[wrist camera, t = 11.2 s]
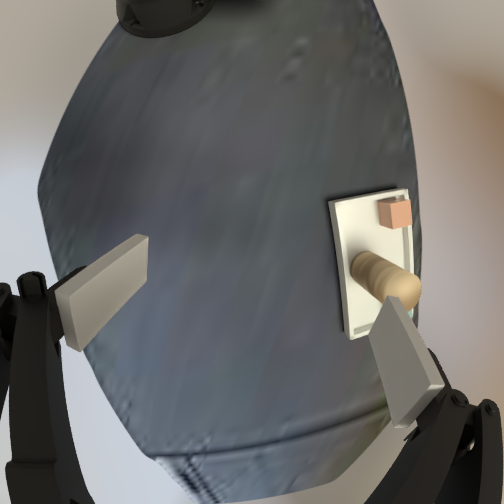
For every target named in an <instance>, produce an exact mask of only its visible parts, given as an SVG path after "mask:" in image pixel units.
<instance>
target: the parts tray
mask: <svg viewBox="0 0 504 504" xmlns="http://www.w3.org/2000/svg"><path fill="white" fill-rule="evenodd" d="M394 198H401V199H408V200H409V197H408V190H407V189H403V188H396V189H391V190H385V191H380V192H374V193H369V194H364V195H358V196H353V197H348V198H343V199H338V200H333V201H328V204H329V210H330V216H331V222H332V228H333V235H334V241H335V248H336V256H337V263H338V271H339V279H340V288H341V298H342V308H343V320H344V333H345V334H346V335H347V337H348V338H349V339H350V340H352V339H355V338H358V337H361V336H364V335H367V334H368V333H369V332H370V330H371V328H372V326H373V324H374V322H375V320H376V318H377V316H378V314H379V311H380V309H381V307H382V305H383V304H382V303H380V302H379V301H378V300H377V299H376V298H374V297H373V296H372V295H371V294H370V293H368V292H367V291H366V290H365V289H364V288H362V287H361V286H360V285H359V284H358V283H356V282H355V281H354V280H353V279H352V277H351V274H350V265H351V262H352V260H353V259H354V257H355V256H356V255H357V254H359V253H361V252H363V251H370V252H373V253H375V254H377V255H379V256H380V257H382V258H384V259H386V260H388V261H390V262H392V263H394V264H396V265H397V266H399V267H401V268H403V269H405V270H407V271H409V272H410V273H412V274H414V264H413V241H412V227H411V225H409V226H405V227H401V228H397V229H390V228H387V227H384V226H380V218H379V210H378V201H384V200H389V199H394ZM412 317H413V309H412Z"/></svg>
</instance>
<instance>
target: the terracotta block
mask: <svg viewBox="0 0 504 504" xmlns="http://www.w3.org/2000/svg"><path fill="white" fill-rule="evenodd" d="M378 210H379V218H380V226H384V227H387V228H390V229H397V228H401V227H405V226H409V225H412V215H411V205H410V200H408V199H401V198H394V199H389V200H384V201H378Z"/></svg>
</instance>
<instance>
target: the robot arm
mask: <svg viewBox="0 0 504 504" xmlns="http://www.w3.org/2000/svg"><path fill="white" fill-rule="evenodd" d="M116 4H117V5H116V7H117V16H118V19H119V21H120V23H121V24H122V25H123V27H124V28H125V29H126V30H127V31H128V32H129V33H131V34H133V35H136V36H139V37H145V38H157V37H164V36H169V35H172V34H176V33H179V32H181V31H184V30H186V29H188V28H190V27H191V26H193V25H195V24H196V23H198V22H199V21H200V20H202V19H203V18H204V17H205V16H206V15H207V14H208V12H209V11H210V10H211V8H212V6H213V4H214V0H116ZM148 238H149V237H148V236H144V235H140V234H135V235H134V236H132V237H131V238H129V239H127V240H126V241H124V242H123V243H121V244H120V245H118V246H117V247H115V248H114V249H112V250H111V251H109V252H108V253H106V254H105V255H103V256H102V257H101V258H99V259H98V260H96V261H95V262H93V263H92V264H90V265H89V266H83V267H80V268H77V269H75V270H74V271H72V272H71V273H69V275H67V276H65V277H64V278H63V279H61V280H60V281H58V282H57V283H55V284H54V285H53V286H51V287H50V288H49V289H47V286H46V280H45V276H44V274H43V273H40V272H35V271H32V272H27V273H25V274H22V275H21V276H20V277H18V279H17V286H18V290H19V294H20V296H17V295H12V292H11V288H10V285H9V284H7V283H0V419H1V414H2V410H3V406H4V402H5V398H6V394H7V390H8V387H9V425H10V439H11V450H12V460H11V461H10V462H7V464H6V467H5V472H6V480H7V486H8V491H9V496H10V500H11V504H95V503H94V501H93V499H92V497H91V496H90V494H89V492H88V490H87V487H86V485H85V482H84V478H83V475H82V472H81V469H80V465H79V461H78V458H77V454H76V450H75V446H74V442H73V438H72V432H71V427H70V422H69V417H68V411H67V405H66V398H65V390H64V382H63V372H62V360H61V345H60V342H59V340H60V339H61V338H62V337H63V336H65V340H66V344H67V346H69V347H71V348H73V349H74V350H77V351H78V352H81V351H82V350H83V349H84V348H85V346H86V345H87V344H88V343H89V342H90V341H91V340H92V339H93V338H94V336H95V335H96V334H97V333H98V332H99V331H100V330H101V329H102V328H103V326H104V325H105V324H106V323H107V322H108V321H109V320H110V319H111V318H112V317H113V316H114V315H115V314H116V312H117V311H118V310H119V309H120V308H121V307H122V306H123V305H124V304H125V303H126V302H127V301H128V300H129V299H130V298H131V297H132V296H133V295H134V293H135V292H136V291H137V290H138V289H139V288H140V287H141V286H142V285H143V284H144V283H145V282H146V281H147V256H148ZM368 337H369V340H370V343H371V346H372V350H373V353H374V356H375V360H376V363H377V366H378V370H379V373H380V377H381V380H382V384H383V387H384V391H385V395H386V399H387V403H388V406H389V410H390V414H391V419H392V423H393V427H394V428H408V427H409V426H410V424H412V423H413V421H414V420H416V421H417V425H418V426H417V427H416V428H415V429H414V430H413V431H412V432H411V433H410V434H409V435H408V436H407V437H406V438H405V439H404V441H405V440H407V439H408V438H409V439H408V440H407V442H406V444H405V445H404V447H403V449H402V450H401V452H400V454H399V455H398V457H397V459H396V460H395V462H394V463H393V465H392V466H391V468H390V469H389V471H388V472H387V474H386V475H385V477H384V478H383V479H382V481H381V482H380V483H379V485H378V486H377V487H376V489H375V490H374V492H373V493H372V494H371V495H370V497H369V498H368V499H367V501H366V502H365V503H364V504H501V499H502V486H503V443H502V428H501V418H500V412H499V408H498V407H497V404H496V403H495V402H494V401H491V400H490V399H484V400H483V401H482V402H481V403H480V404H479V405H478V406H474V405H471V404H469V401H468V399H467V397H466V396H465V395H464V394H463V393H462V392H461V391H459V390H456V389H452V388H451V385H450V383H449V381H448V379H447V377H446V375H445V373H444V371H443V370H442V367H441V365H440V364H439V361H438V359H437V357H436V355H435V354H434V353H433V352H432V351H431V350H430V349H429V348H427V347H426V345H425V344H424V341H423V339H422V338H421V336H420V334H419V332H418V330H417V328H416V327H415V325H414V323H413V321H412V319H411V318H410V316H409V314H408V312H407V311H406V309H405V307H404V306H403V304H402V302H401V301H400V299H399V297H394V296H390V295H387V296H386V299H385V301H384V303H383V305H382V307H381V309H380V311H379V314H378V316H377V318H376V320H375V322H374V324H373V326H372V328H371V330H370V332H369V333H368ZM473 443H474V446H473V448H472V450H470V445H471V444H473Z"/></svg>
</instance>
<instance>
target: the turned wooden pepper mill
mask: <svg viewBox="0 0 504 504" xmlns="http://www.w3.org/2000/svg"><path fill="white" fill-rule="evenodd" d="M350 274H351V277H352V279H353V280H354V281H355V282H356V283H358V284H359V285H360V286H361V287H362V288H364V289H365V290H366V291H367V292H368V293H370V294H371V295H372V296H373V297H374V298H376V299H377V300H378V301H379V302H380V303H382V304H383V303H384V301H385V299H386V296H387V295H390V296H394V297H399V299H400V301H401V302H402V304H403V306H404V307H405V309H406V311H407V312H409V311H410V310H411V309H413V307H414V306H415V305H416V304H417V302H418V300H419V298H420V295H421V282H420V280H419V278H418V277H417V276H416V275H414V274H412V273H410V272H409V271H407V270H405V269H403V268H401V267H399V266H397V265H396V264H394V263H392V262H390V261H388V260H386V259H384V258H382V257H380V256H379V255H377V254H375V253H373V252H370V251H363V252H361V253H359V254H357V255H356V256H355V257H354V259H353V260H352V262H351V265H350Z"/></svg>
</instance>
